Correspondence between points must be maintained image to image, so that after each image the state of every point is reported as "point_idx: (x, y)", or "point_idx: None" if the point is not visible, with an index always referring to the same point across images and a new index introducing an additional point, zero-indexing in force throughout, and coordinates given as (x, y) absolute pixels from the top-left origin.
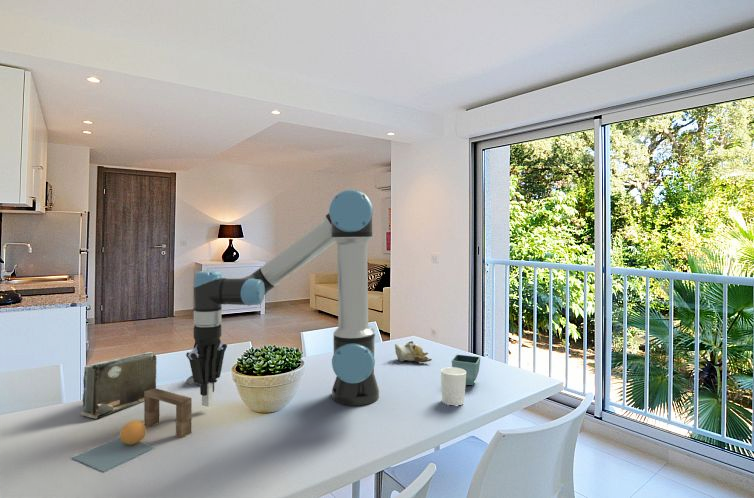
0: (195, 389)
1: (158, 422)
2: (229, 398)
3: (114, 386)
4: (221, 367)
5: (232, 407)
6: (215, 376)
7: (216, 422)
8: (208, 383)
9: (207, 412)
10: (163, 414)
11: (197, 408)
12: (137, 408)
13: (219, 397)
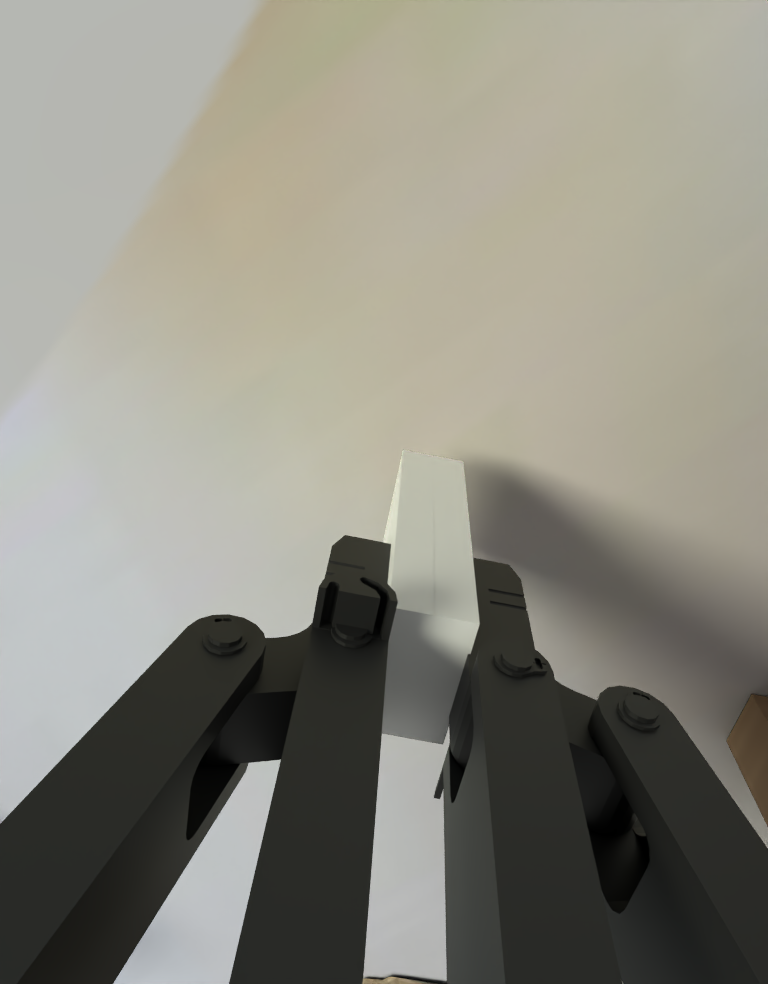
0: None
1: (762, 699)
2: (45, 459)
3: None
4: (84, 743)
5: (230, 276)
6: (268, 674)
7: (662, 192)
8: (438, 649)
9: (441, 455)
10: None
11: None
12: None
13: (78, 565)
